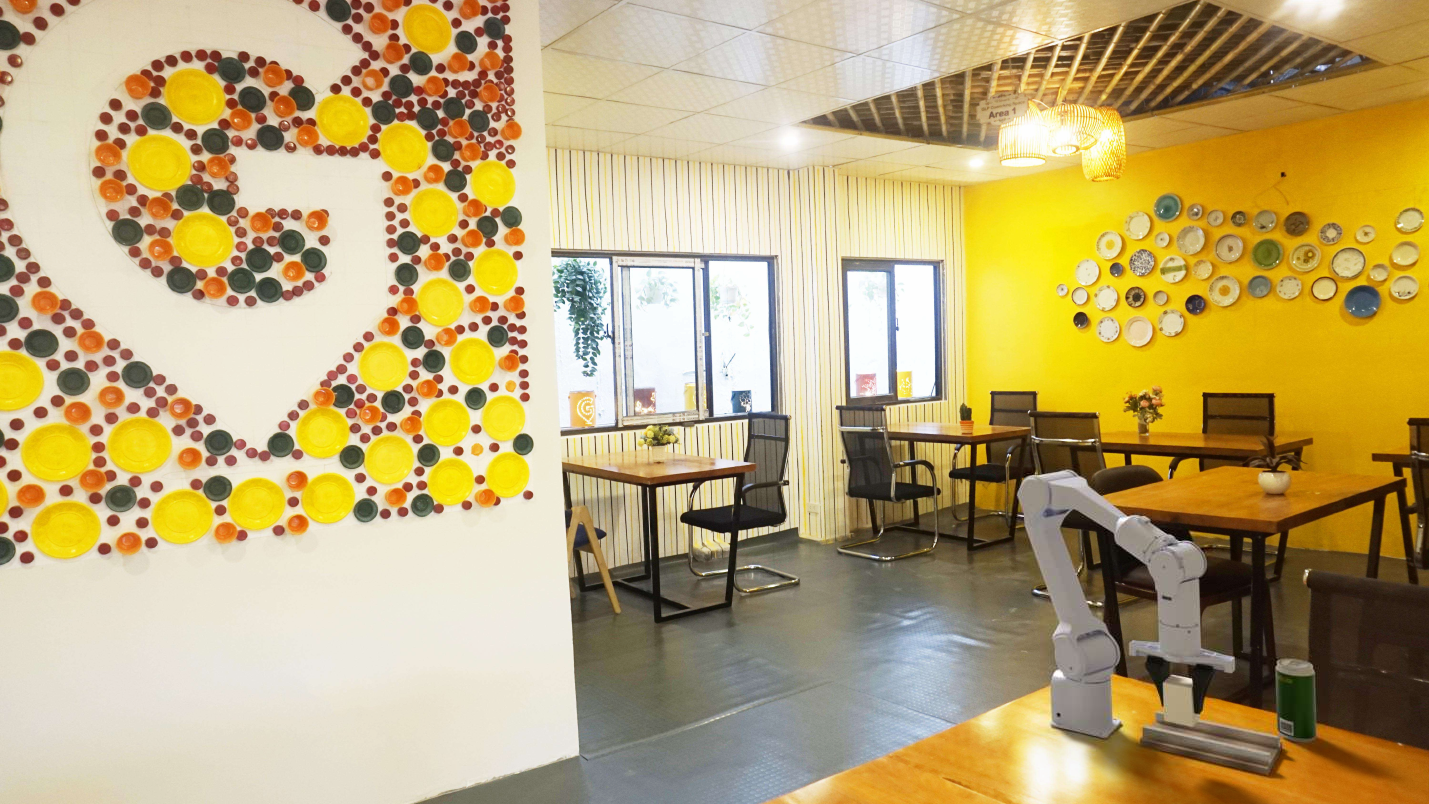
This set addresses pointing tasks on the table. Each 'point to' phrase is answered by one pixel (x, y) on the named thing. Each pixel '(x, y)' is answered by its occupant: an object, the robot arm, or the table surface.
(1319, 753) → the table surface
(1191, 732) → the track
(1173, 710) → the cream block
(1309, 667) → the beer can
